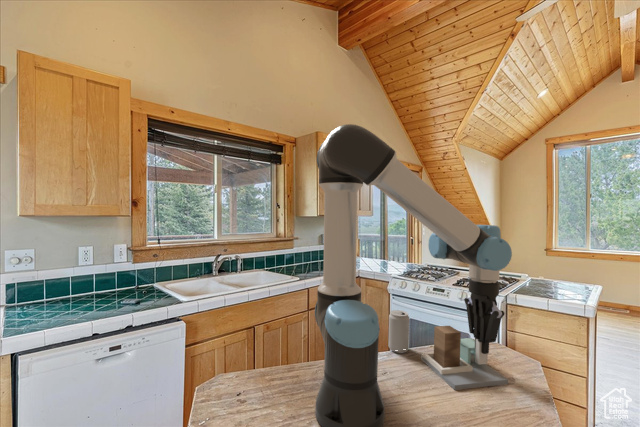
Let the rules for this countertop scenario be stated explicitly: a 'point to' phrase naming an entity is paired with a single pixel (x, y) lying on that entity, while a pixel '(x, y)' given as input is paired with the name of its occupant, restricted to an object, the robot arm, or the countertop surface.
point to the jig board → (465, 373)
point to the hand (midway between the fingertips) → (481, 362)
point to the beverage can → (398, 331)
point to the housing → (467, 349)
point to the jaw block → (447, 346)
